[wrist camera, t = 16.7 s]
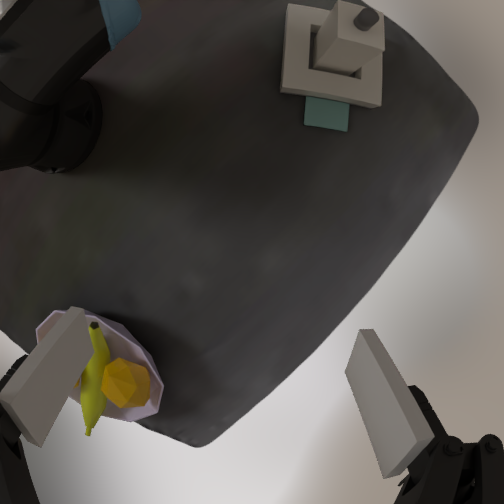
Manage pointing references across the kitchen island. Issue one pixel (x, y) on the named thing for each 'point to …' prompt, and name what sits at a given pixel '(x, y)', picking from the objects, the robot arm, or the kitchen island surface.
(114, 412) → the fruit bowl
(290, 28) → the socket
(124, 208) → the kitchen island surface
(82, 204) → the kitchen island surface
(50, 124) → the robot arm
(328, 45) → the plug
